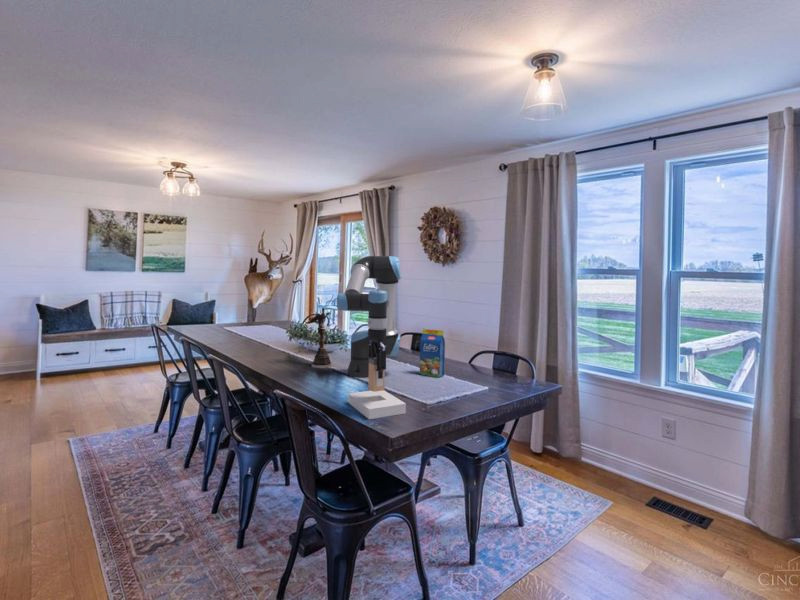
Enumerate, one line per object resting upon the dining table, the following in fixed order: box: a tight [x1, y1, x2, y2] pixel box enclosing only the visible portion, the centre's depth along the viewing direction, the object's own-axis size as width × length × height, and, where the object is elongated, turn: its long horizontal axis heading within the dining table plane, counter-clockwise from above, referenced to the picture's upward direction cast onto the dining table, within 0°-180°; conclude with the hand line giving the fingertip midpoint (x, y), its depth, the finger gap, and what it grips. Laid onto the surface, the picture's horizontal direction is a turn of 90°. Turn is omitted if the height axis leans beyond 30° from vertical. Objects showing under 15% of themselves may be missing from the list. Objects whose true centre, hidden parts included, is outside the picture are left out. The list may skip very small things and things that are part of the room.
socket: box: [347, 389, 407, 420], centre depth 174 cm, size 22×16×4 cm
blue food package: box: [419, 328, 446, 378], centre depth 228 cm, size 6×12×25 cm, turn 61°
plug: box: [367, 357, 386, 392], centre depth 173 cm, size 5×5×13 cm
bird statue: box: [304, 307, 332, 369], centre depth 245 cm, size 17×13×35 cm
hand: (376, 384), depth 173 cm, fingers closed on plug, 5 cm apart
